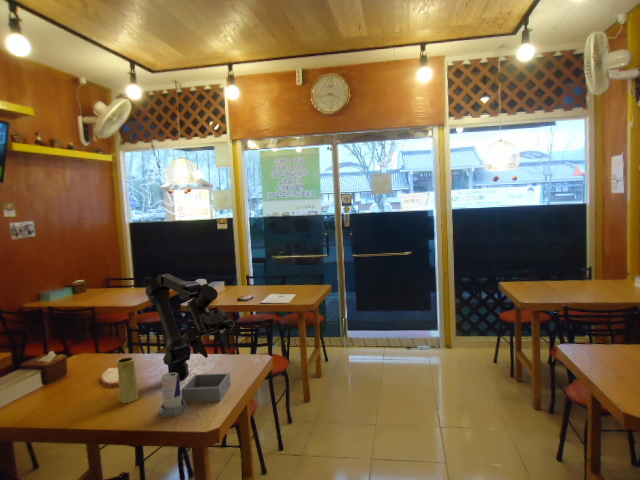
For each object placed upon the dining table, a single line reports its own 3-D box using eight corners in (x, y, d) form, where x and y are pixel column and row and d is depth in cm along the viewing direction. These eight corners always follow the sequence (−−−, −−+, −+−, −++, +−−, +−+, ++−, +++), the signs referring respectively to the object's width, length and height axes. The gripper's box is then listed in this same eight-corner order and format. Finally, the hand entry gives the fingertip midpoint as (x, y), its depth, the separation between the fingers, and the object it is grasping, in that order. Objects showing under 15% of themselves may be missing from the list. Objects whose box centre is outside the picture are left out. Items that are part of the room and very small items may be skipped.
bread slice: (119, 389, 160) (119, 379, 160) (84, 385, 166) (83, 376, 166) (154, 371, 177) (153, 362, 176) (120, 368, 183) (119, 360, 183)
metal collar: (156, 417, 135) (155, 410, 135) (166, 406, 142) (166, 399, 142) (180, 416, 134) (179, 410, 134) (189, 405, 142) (188, 399, 142)
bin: (182, 402, 145) (181, 389, 144) (196, 386, 158) (195, 374, 157) (220, 401, 144) (219, 388, 143) (230, 385, 157) (229, 373, 156)
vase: (120, 405, 145) (116, 364, 144) (119, 398, 151) (115, 359, 150) (139, 400, 148) (135, 360, 147) (137, 394, 154) (134, 355, 153)
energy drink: (185, 408, 140) (182, 372, 139) (174, 416, 135) (171, 379, 134) (171, 406, 142) (168, 371, 141) (160, 414, 137) (157, 377, 136)
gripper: (186, 308, 141) (204, 351, 136) (232, 297, 155) (250, 336, 150) (173, 324, 147) (190, 365, 142) (219, 312, 161) (236, 349, 156)
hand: (218, 353), depth 148 cm, fingers open, 9 cm apart
